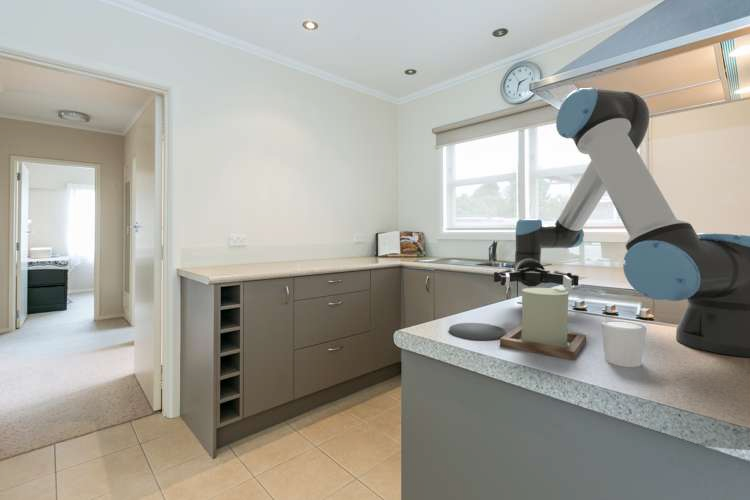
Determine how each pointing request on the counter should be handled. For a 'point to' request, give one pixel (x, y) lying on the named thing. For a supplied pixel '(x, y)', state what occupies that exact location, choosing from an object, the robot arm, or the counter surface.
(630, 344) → the shot glass
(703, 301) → the robot arm
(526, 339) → the can
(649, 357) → the counter surface
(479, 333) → the mat
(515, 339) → the pocket
